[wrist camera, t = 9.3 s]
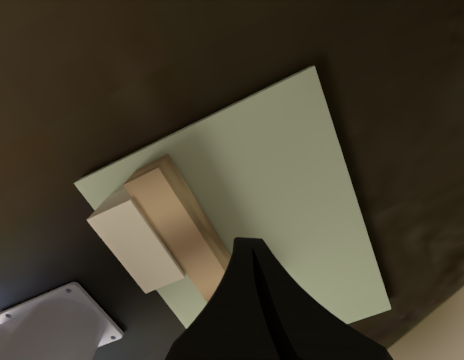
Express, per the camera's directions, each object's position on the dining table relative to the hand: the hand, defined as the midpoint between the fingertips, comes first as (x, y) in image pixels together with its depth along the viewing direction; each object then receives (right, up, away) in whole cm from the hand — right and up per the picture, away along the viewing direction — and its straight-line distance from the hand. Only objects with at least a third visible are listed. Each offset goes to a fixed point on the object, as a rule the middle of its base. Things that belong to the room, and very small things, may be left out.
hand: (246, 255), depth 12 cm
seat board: (+1, -3, +11) cm, 11 cm away
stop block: (-7, 0, +9) cm, 11 cm away
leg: (-3, -1, +9) cm, 10 cm away
